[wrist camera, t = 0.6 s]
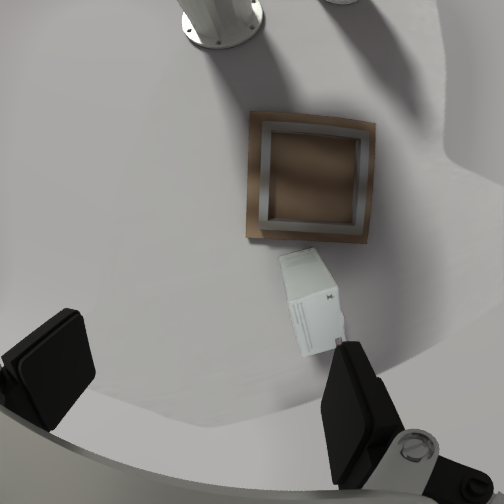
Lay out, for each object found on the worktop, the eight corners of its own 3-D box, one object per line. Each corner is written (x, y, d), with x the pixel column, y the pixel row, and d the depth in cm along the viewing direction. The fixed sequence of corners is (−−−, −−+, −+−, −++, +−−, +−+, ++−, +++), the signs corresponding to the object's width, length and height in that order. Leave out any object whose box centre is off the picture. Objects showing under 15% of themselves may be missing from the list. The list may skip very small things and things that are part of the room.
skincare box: (278, 255, 43) (282, 298, 29) (316, 245, 43) (338, 283, 28) (290, 303, 46) (298, 360, 31) (327, 294, 45) (349, 347, 31)
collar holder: (250, 113, 38) (248, 107, 34) (372, 124, 37) (381, 121, 33) (246, 235, 43) (244, 241, 39) (363, 241, 42) (372, 248, 38)
